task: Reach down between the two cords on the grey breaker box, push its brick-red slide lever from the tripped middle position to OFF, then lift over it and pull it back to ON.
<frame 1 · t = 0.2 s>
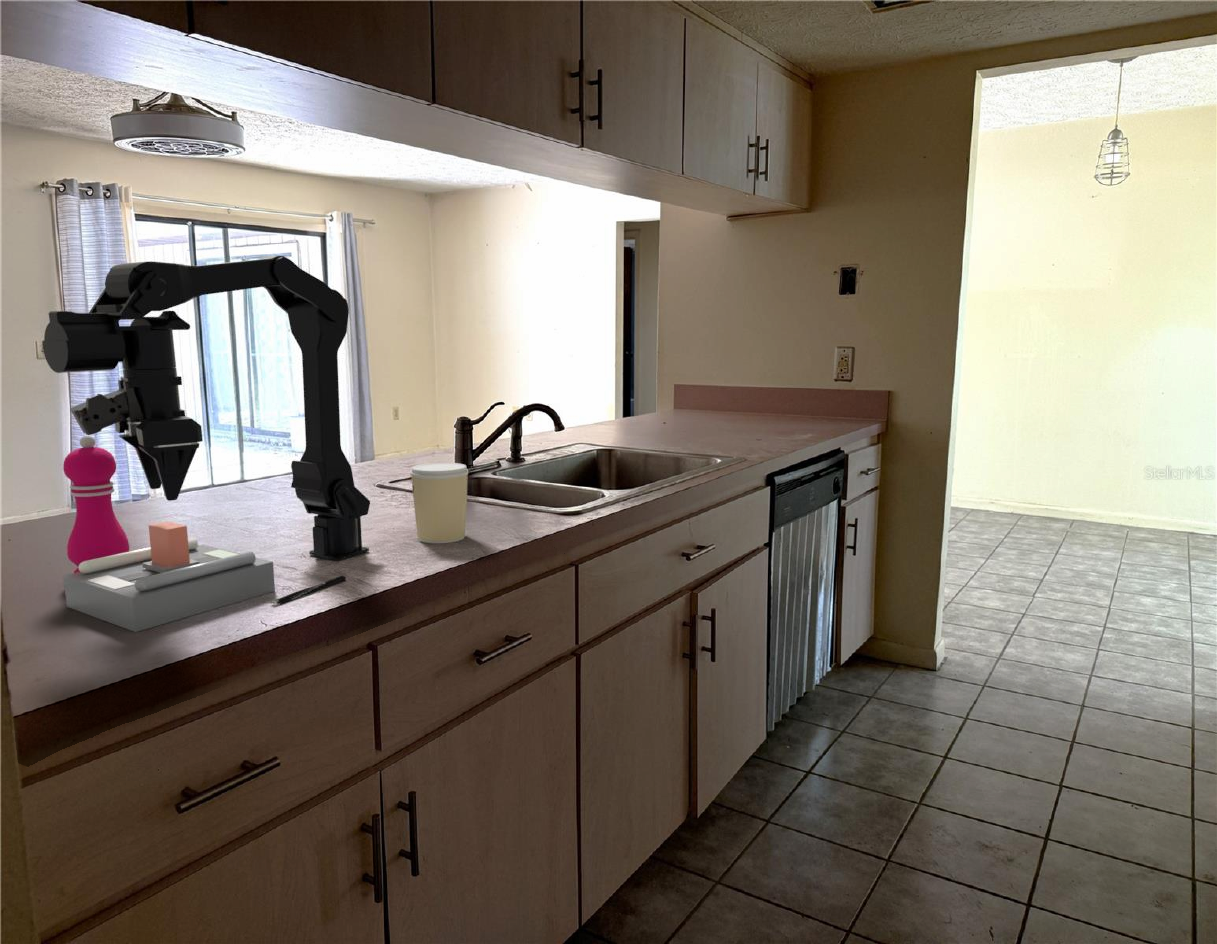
hand: (163, 494, 102), 14 cm above the counter, fingers open, 9 cm apart
pepper mill: (102, 581, 112), on the counter
coffee cup: (441, 538, 136), on the counter
breaker box: (174, 598, 104), on the counter
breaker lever: (169, 546, 103), point 7 cm above the counter, slide at 0.0 cm
black thin rod: (310, 596, 107), on the counter
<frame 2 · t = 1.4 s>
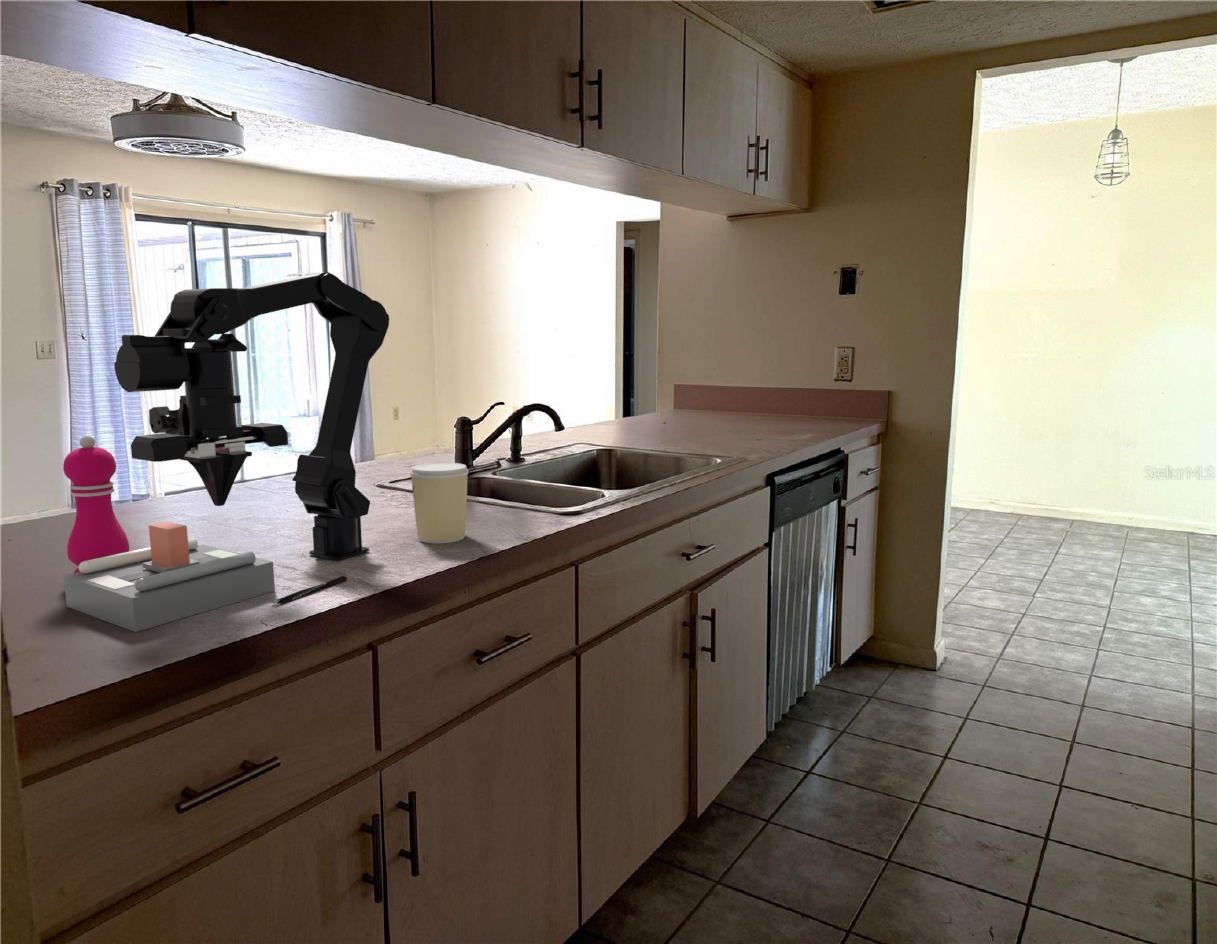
hand: (219, 505, 109), 11 cm above the counter, fingers closed
nothing on the counter moved.
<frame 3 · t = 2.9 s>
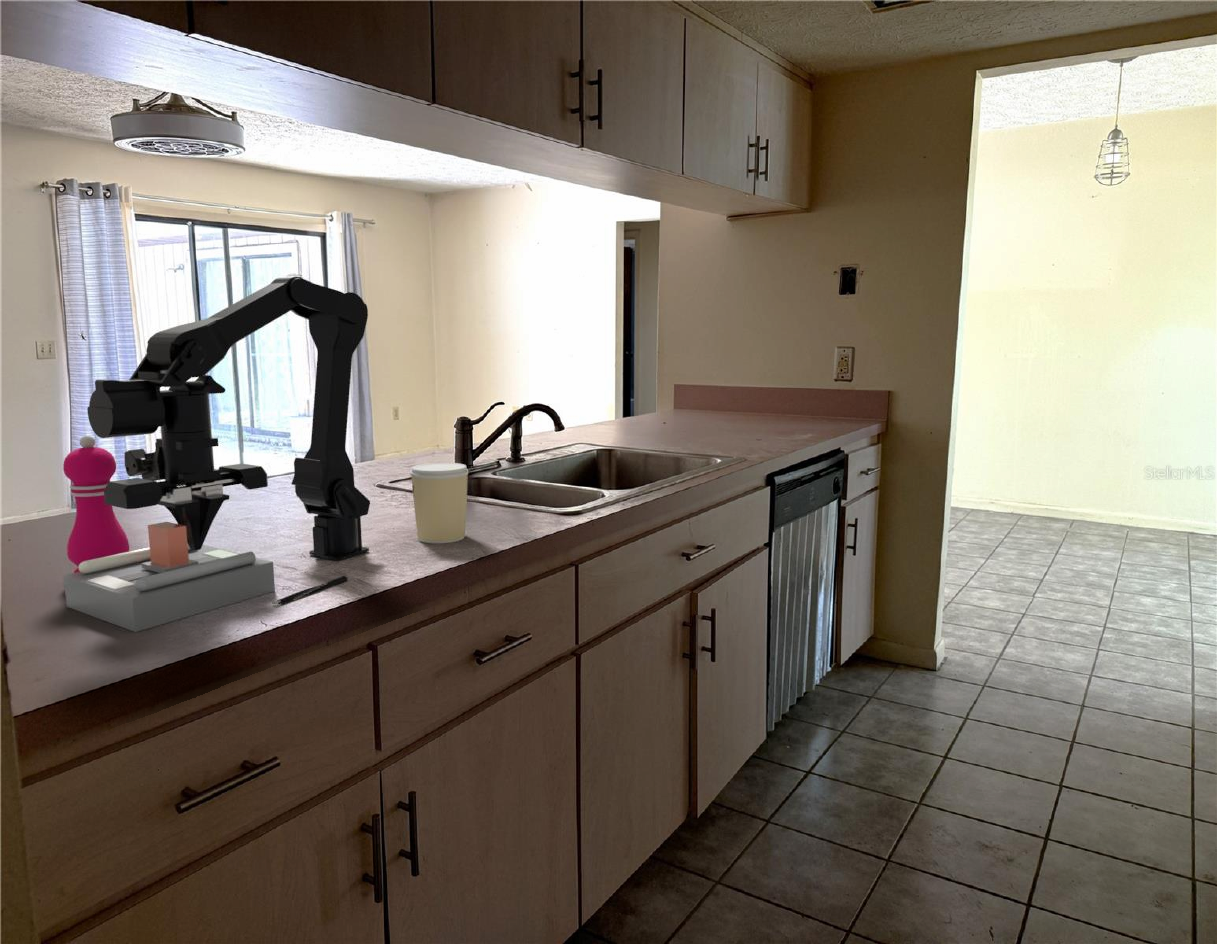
hand: (195, 549, 106), 6 cm above the counter, fingers closed
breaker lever: (168, 546, 103), point 7 cm above the counter, slide at 0.1 cm, touching gripper
everything else where it was.
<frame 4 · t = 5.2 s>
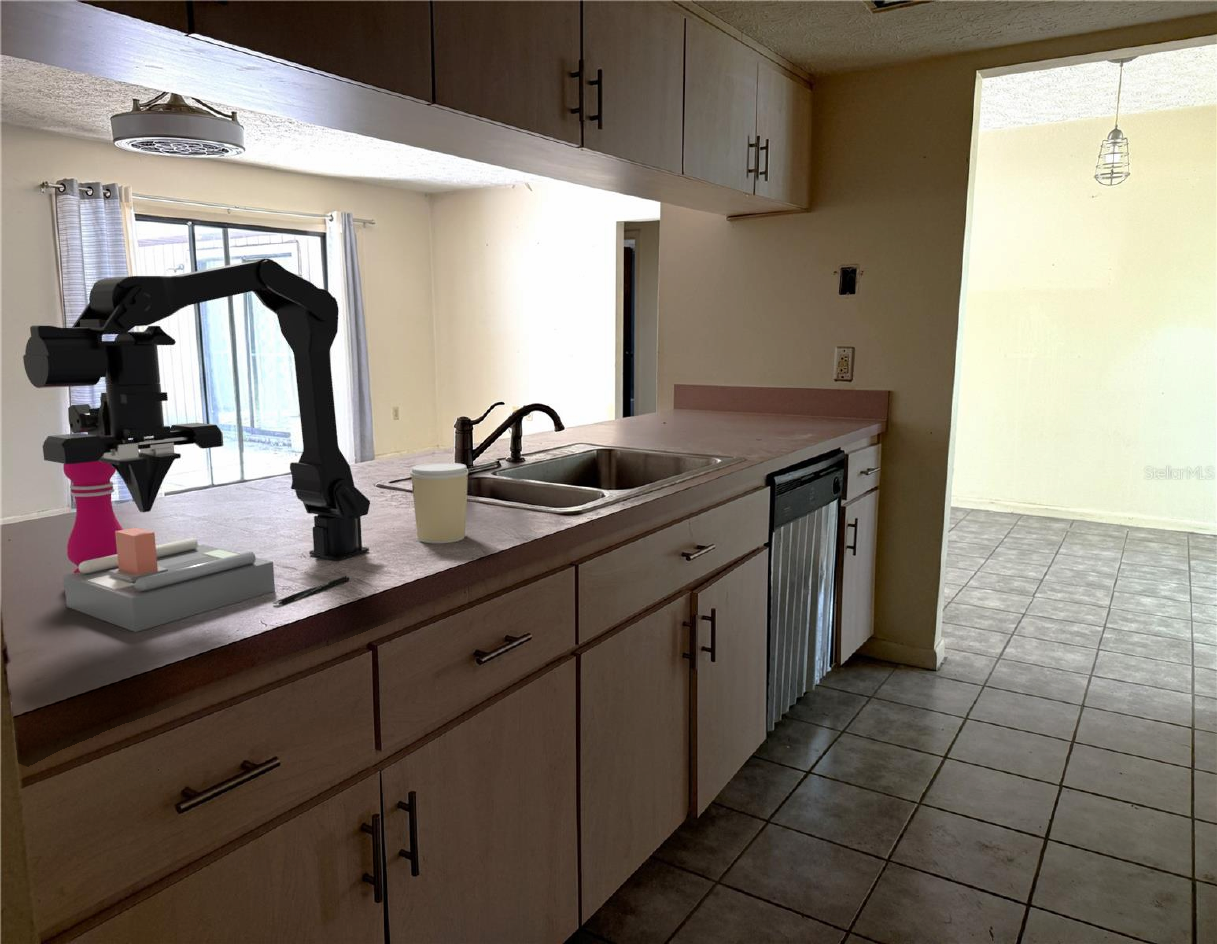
hand: (144, 511, 100), 12 cm above the counter, fingers closed
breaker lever: (136, 553, 100), point 7 cm above the counter, slide at 4.1 cm
everything else where it was.
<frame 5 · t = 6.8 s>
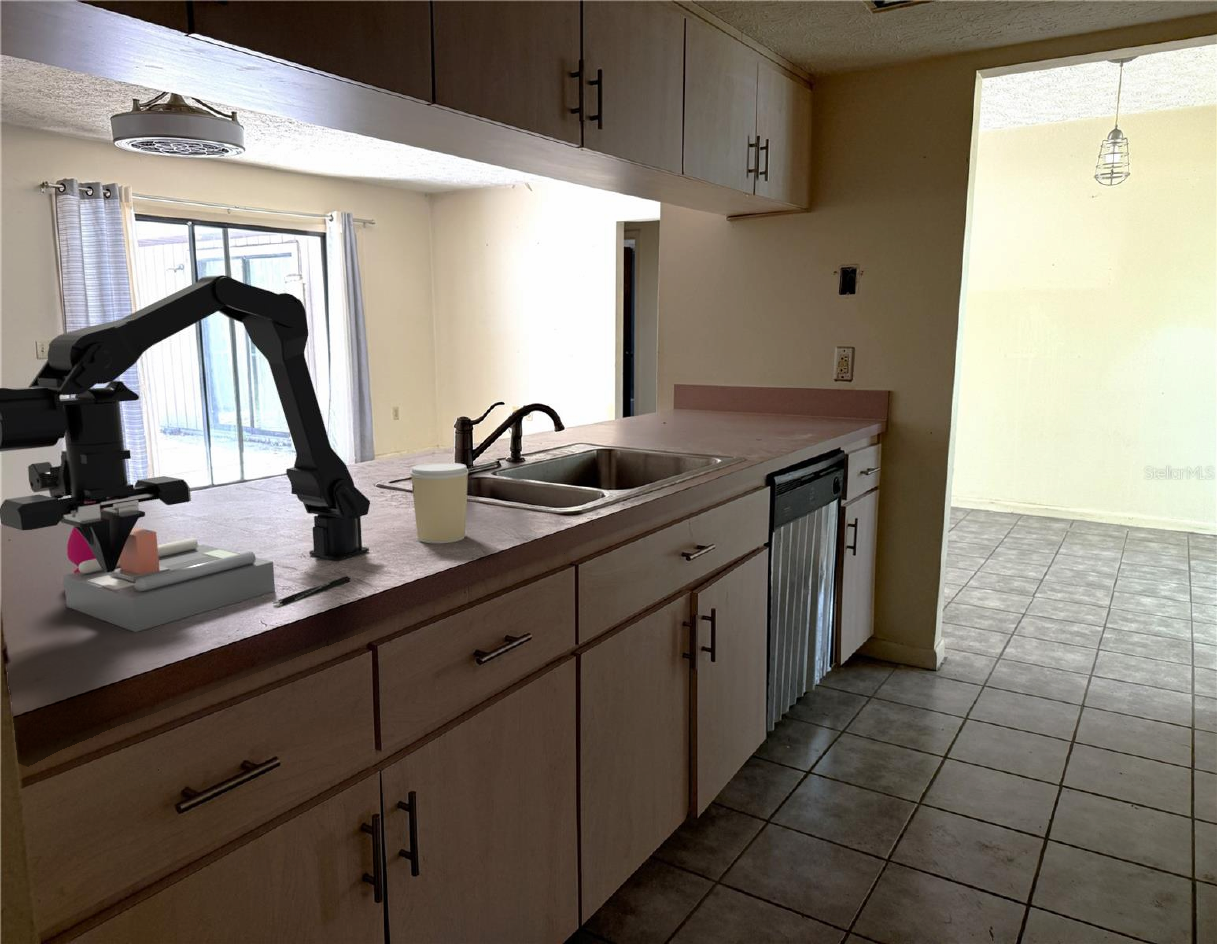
hand: (108, 571, 97), 5 cm above the counter, fingers closed
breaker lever: (138, 552, 100), point 7 cm above the counter, slide at 3.8 cm, touching gripper
everything else where it was.
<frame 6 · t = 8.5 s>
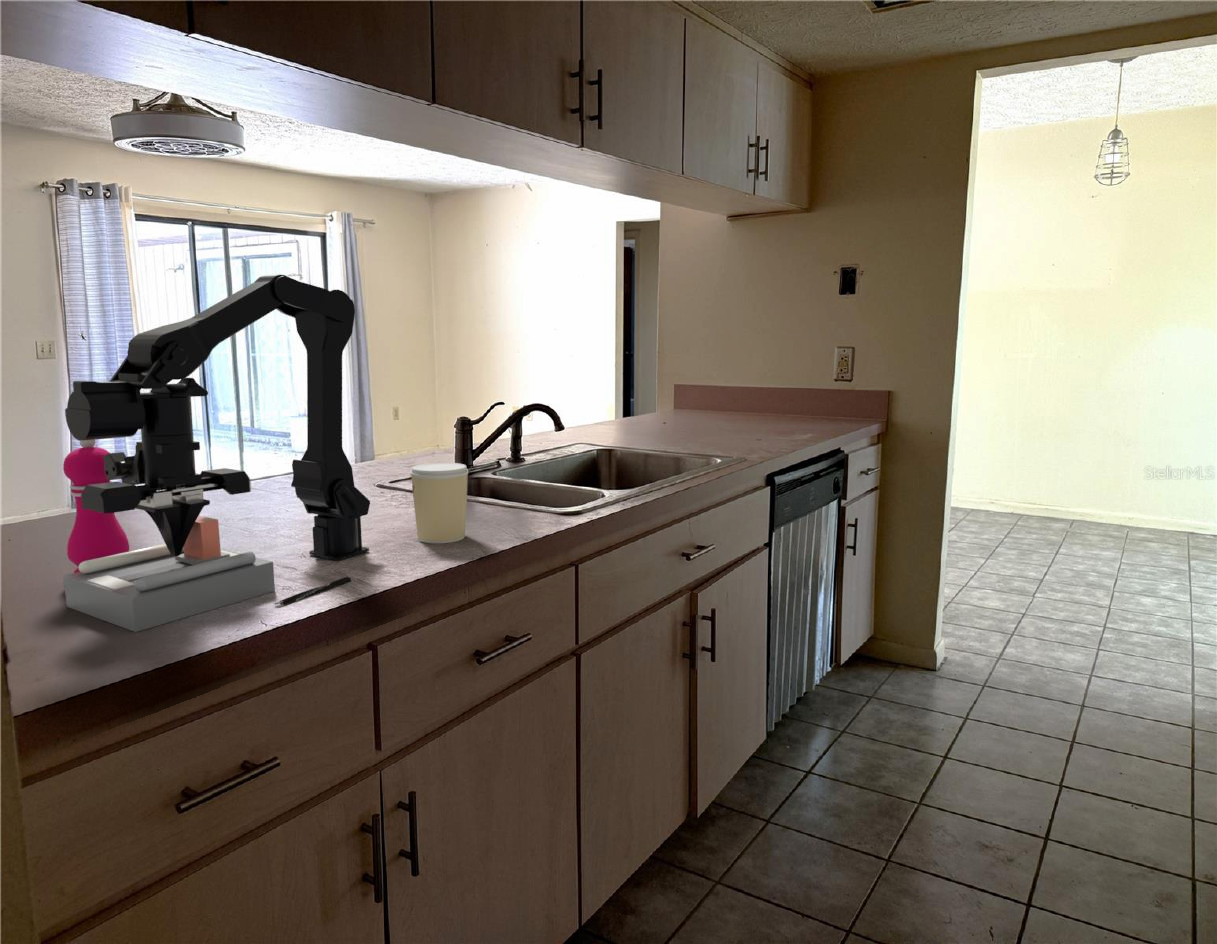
hand: (175, 555, 104), 5 cm above the counter, fingers closed
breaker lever: (201, 539, 107), point 7 cm above the counter, slide at -4.2 cm, touching gripper
everything else where it was.
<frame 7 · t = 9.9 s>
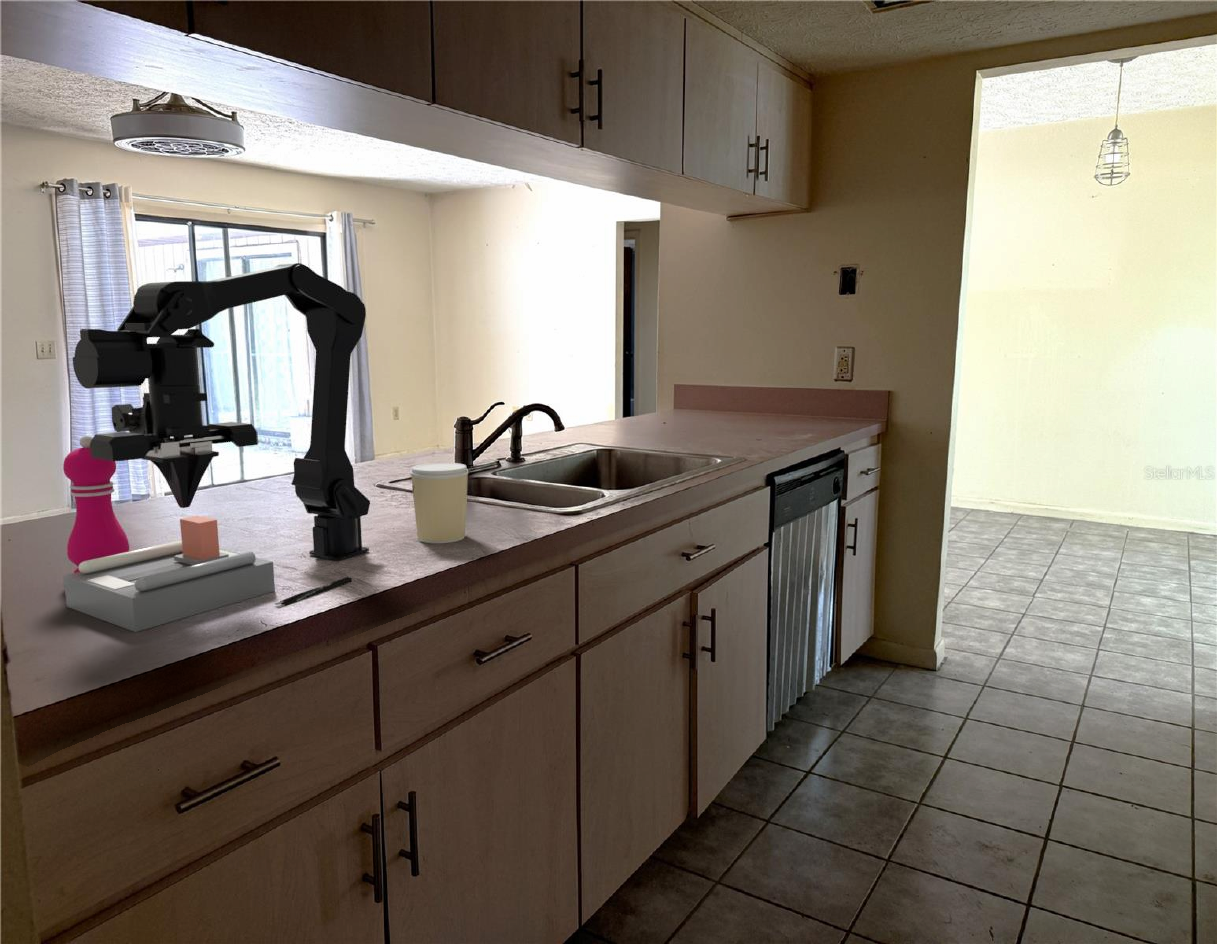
hand: (184, 507, 105), 12 cm above the counter, fingers closed
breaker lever: (200, 539, 107), point 7 cm above the counter, slide at -4.1 cm
everything else where it was.
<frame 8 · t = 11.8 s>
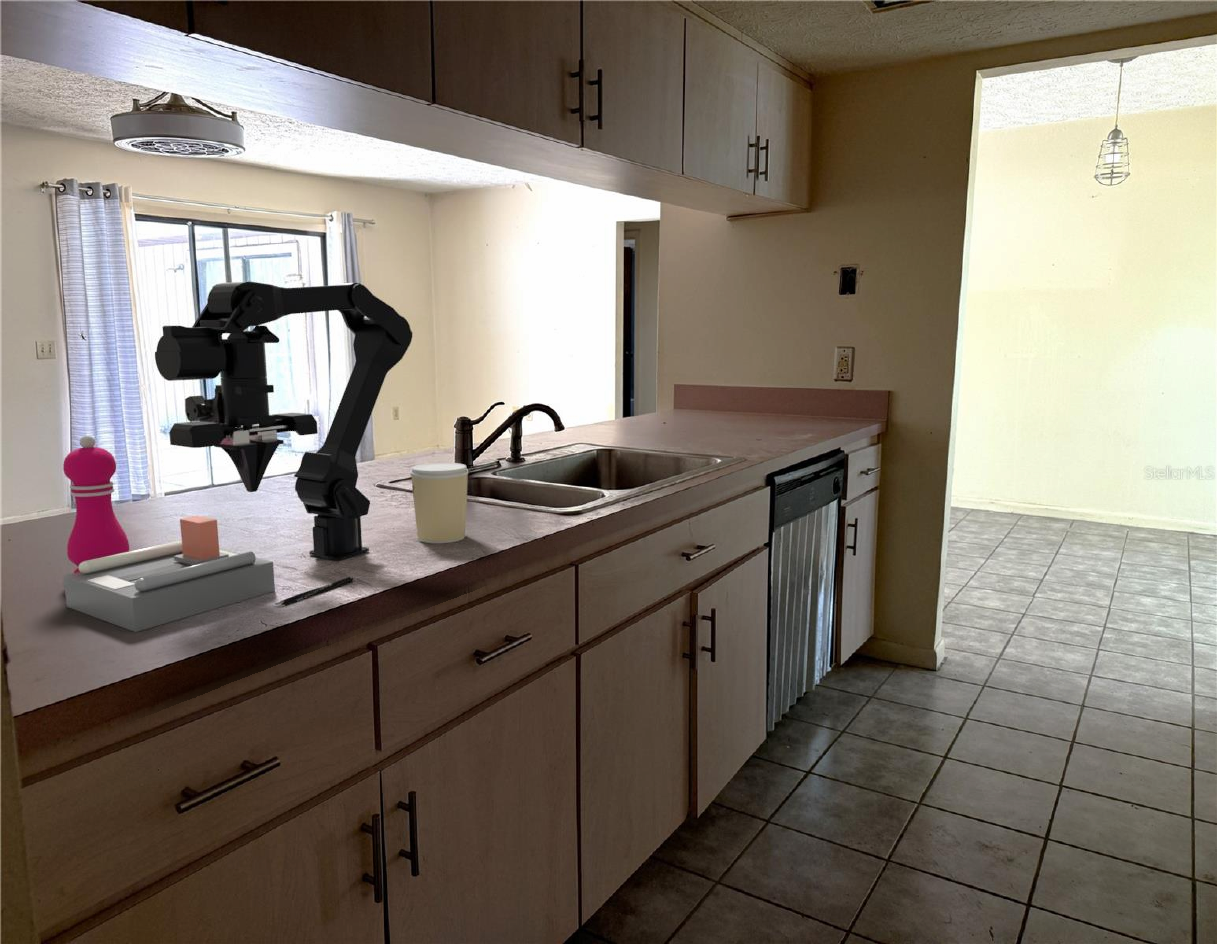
hand: (252, 491, 112), 12 cm above the counter, fingers closed
at the end: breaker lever slide at -4.1 cm; pepper mill moved 0.2 cm from its start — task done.
